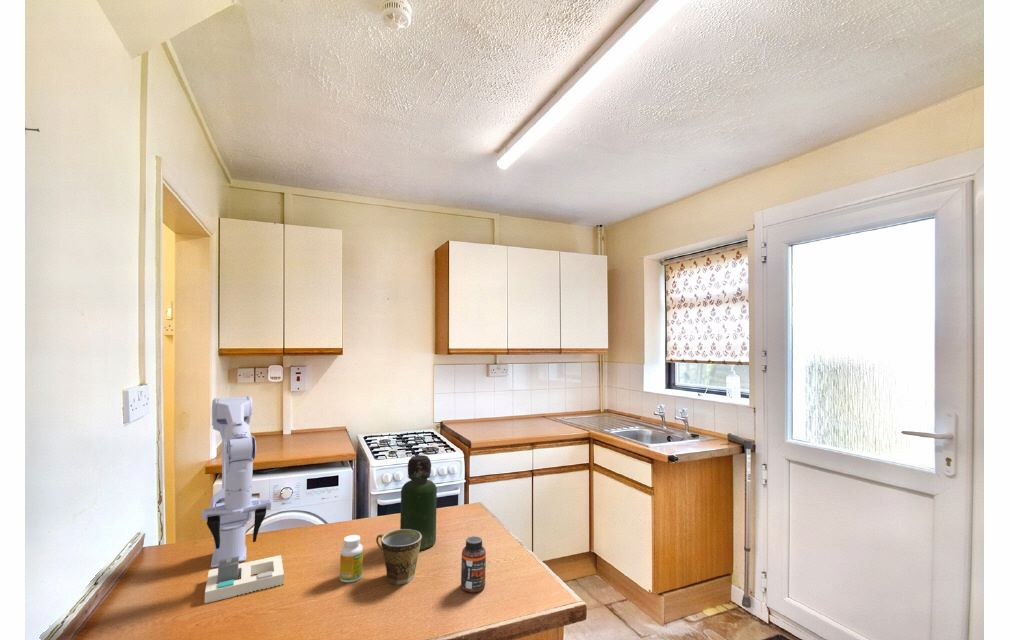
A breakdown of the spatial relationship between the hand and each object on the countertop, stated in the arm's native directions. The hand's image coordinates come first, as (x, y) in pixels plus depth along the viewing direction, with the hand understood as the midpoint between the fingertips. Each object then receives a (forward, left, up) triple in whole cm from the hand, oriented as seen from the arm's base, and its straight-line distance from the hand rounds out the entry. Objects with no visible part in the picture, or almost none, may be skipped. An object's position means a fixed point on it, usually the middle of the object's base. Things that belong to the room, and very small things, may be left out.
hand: (236, 543), depth 108 cm
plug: (+1, -1, -10) cm, 10 cm away
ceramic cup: (+16, +35, -10) cm, 40 cm away
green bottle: (+1, +46, -10) cm, 47 cm away
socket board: (+1, +2, -10) cm, 10 cm away
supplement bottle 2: (+30, +50, -10) cm, 59 cm away
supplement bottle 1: (+11, +25, -10) cm, 29 cm away
